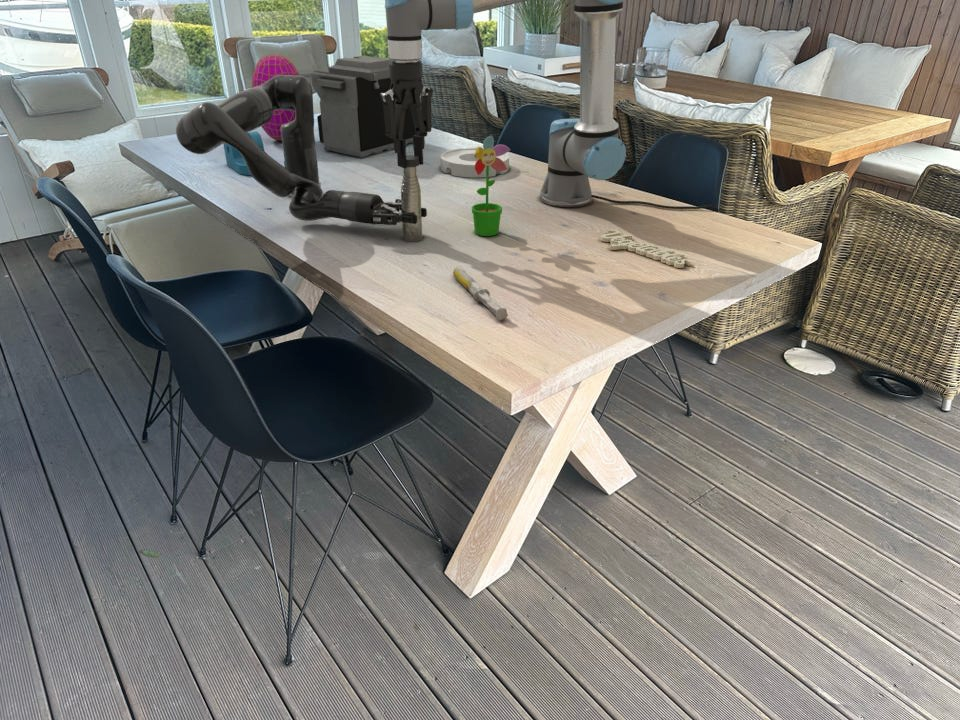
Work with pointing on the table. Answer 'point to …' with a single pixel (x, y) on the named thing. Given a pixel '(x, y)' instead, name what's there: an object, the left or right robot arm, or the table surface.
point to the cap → (412, 161)
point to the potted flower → (487, 212)
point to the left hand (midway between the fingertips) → (421, 215)
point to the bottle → (411, 204)
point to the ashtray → (467, 163)
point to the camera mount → (235, 157)
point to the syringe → (479, 293)
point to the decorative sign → (644, 249)
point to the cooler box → (356, 106)
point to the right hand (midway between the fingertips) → (410, 164)
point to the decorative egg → (263, 73)
